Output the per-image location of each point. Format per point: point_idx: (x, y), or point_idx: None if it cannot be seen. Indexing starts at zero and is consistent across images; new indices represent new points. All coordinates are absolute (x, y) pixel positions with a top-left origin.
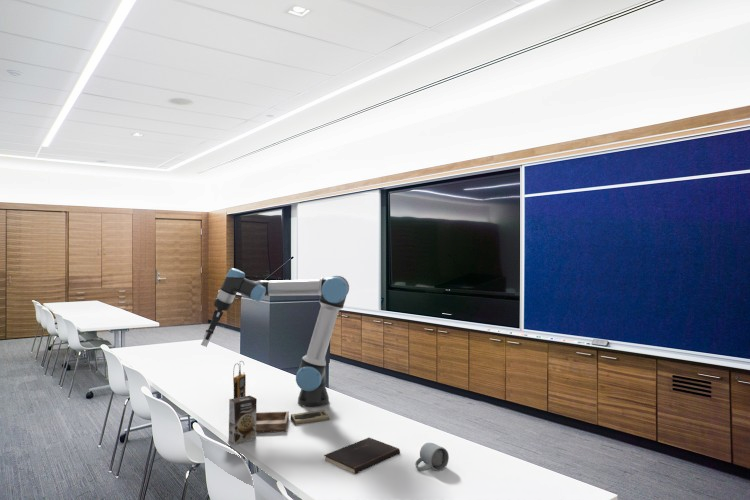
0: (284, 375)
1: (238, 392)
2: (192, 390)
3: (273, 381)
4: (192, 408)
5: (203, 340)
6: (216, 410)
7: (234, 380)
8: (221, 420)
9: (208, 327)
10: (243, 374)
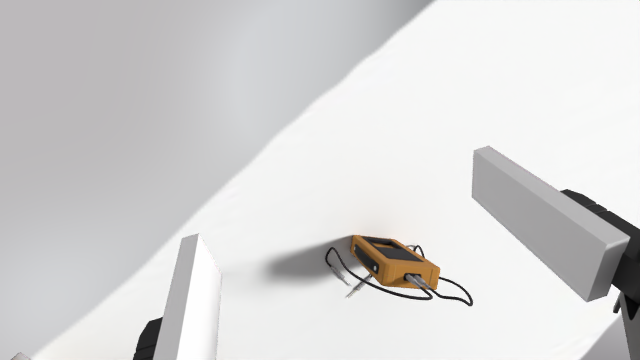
0: None
1: (361, 263)
2: (490, 40)
3: None
4: (305, 118)
5: (175, 282)
6: (289, 204)
7: (380, 262)
8: None
9: (559, 216)
10: (433, 284)
